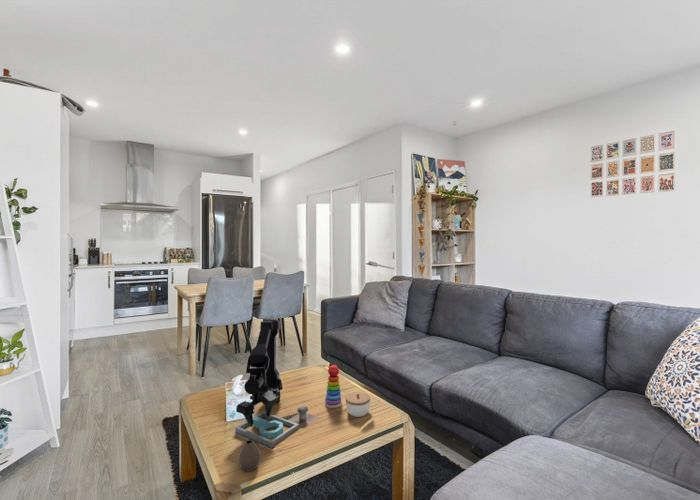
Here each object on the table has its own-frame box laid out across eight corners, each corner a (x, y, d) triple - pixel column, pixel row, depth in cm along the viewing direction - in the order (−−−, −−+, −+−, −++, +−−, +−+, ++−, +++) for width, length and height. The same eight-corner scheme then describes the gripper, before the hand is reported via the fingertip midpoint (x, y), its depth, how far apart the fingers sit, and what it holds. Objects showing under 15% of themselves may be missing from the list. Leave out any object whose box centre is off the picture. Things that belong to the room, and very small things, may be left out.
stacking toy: (339, 410, 154) (339, 369, 153) (322, 409, 155) (322, 368, 155) (343, 402, 161) (343, 363, 161) (327, 401, 163) (326, 362, 163)
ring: (247, 430, 137) (246, 423, 137) (263, 420, 145) (263, 413, 145) (271, 440, 130) (271, 432, 130) (287, 429, 137) (287, 422, 137)
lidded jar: (340, 415, 150) (340, 394, 150) (357, 406, 158) (356, 386, 157) (359, 423, 142) (358, 401, 142) (375, 414, 150) (375, 392, 150)
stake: (285, 423, 143) (285, 410, 143) (301, 413, 152) (301, 401, 152) (304, 430, 138) (304, 417, 138) (319, 419, 146) (319, 406, 146)
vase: (241, 461, 119) (241, 436, 119) (261, 460, 120) (261, 435, 119) (236, 474, 112) (236, 448, 112) (258, 473, 113) (257, 447, 112)
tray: (235, 433, 136) (235, 427, 136) (263, 417, 149) (263, 411, 149) (271, 449, 126) (271, 442, 126) (298, 430, 138) (298, 424, 138)
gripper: (254, 396, 127) (255, 438, 127) (289, 379, 143) (290, 416, 143) (235, 390, 133) (236, 430, 133) (270, 374, 149) (271, 409, 149)
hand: (259, 421), depth 140 cm, fingers open, 9 cm apart
